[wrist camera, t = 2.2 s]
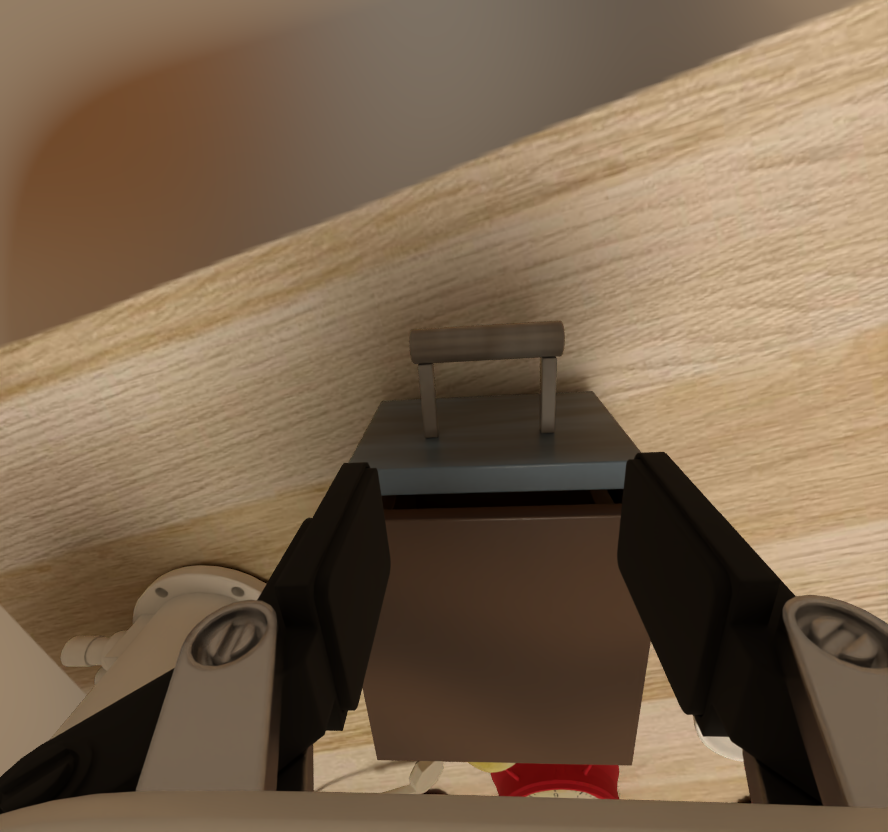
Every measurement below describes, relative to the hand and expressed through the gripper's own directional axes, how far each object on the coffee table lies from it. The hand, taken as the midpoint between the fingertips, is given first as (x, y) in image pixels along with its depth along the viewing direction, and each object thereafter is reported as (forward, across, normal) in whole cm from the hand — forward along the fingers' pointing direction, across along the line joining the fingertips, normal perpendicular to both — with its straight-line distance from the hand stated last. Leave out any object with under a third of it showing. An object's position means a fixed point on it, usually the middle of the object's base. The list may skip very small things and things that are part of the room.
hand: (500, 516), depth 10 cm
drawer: (+14, 0, +6) cm, 15 cm away
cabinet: (+15, 0, +11) cm, 18 cm away
